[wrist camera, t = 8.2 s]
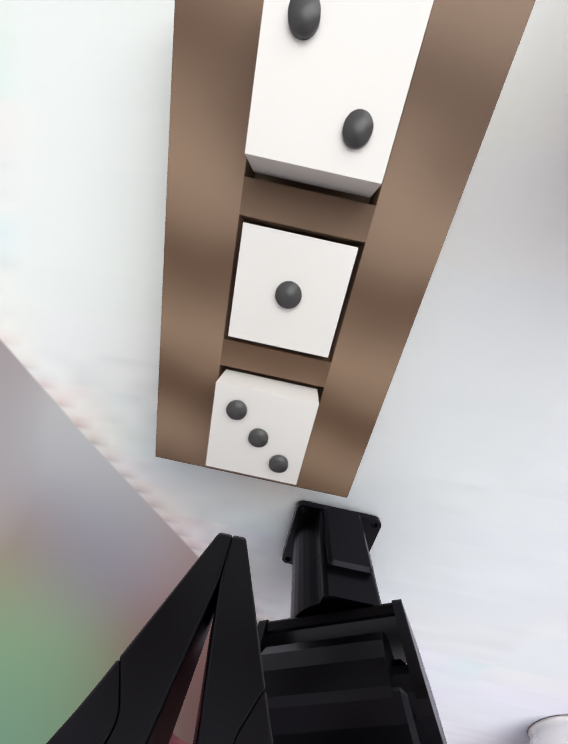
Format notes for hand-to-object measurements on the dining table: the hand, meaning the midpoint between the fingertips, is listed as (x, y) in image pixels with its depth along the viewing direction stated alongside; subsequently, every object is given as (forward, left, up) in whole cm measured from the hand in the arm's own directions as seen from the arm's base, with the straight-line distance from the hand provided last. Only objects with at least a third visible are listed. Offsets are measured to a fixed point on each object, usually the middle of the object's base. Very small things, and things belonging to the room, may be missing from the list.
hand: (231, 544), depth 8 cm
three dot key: (0, 0, -7) cm, 8 cm away
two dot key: (+14, 0, -7) cm, 16 cm away
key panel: (+7, 0, -10) cm, 12 cm away
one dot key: (+7, 0, -9) cm, 11 cm away
